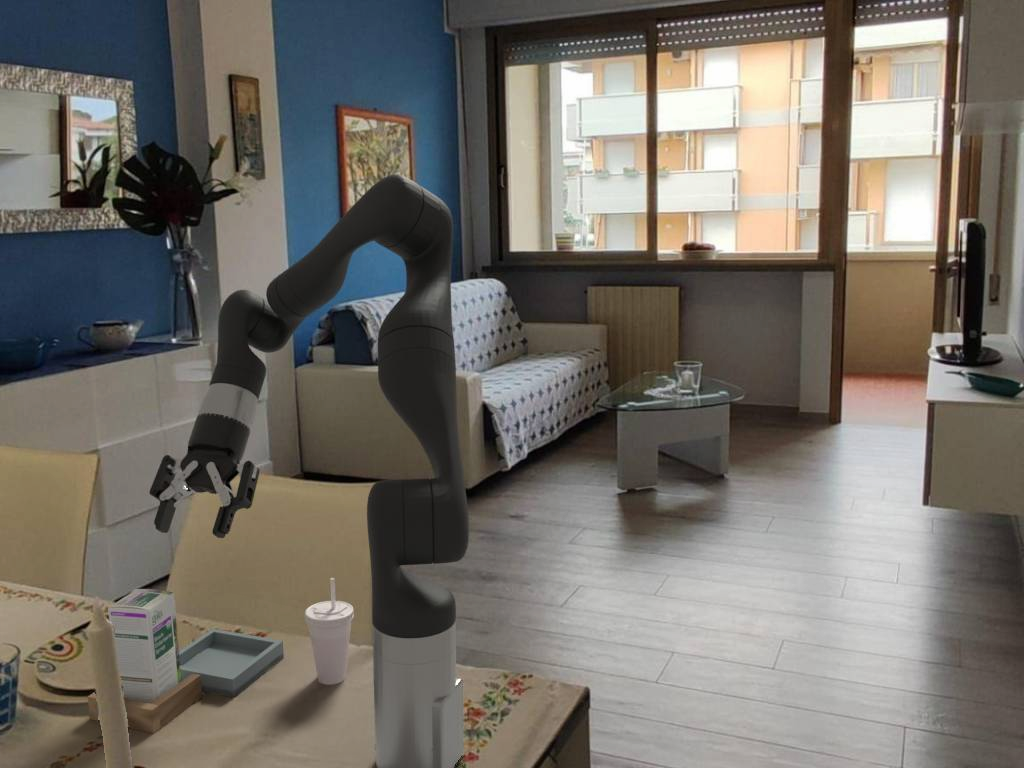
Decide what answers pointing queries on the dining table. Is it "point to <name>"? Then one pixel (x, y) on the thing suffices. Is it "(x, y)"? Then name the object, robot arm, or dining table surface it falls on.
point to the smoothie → (330, 637)
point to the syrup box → (146, 643)
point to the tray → (229, 660)
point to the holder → (157, 706)
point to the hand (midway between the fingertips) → (189, 533)
